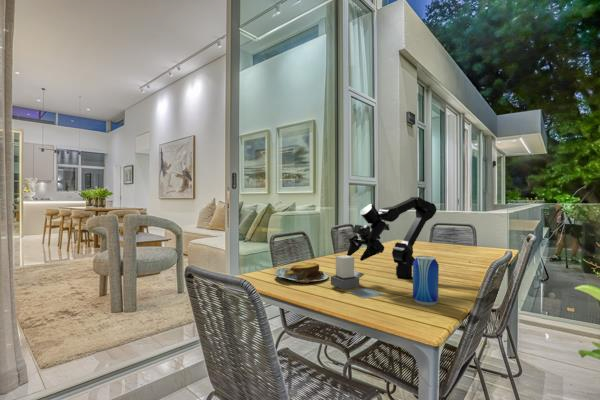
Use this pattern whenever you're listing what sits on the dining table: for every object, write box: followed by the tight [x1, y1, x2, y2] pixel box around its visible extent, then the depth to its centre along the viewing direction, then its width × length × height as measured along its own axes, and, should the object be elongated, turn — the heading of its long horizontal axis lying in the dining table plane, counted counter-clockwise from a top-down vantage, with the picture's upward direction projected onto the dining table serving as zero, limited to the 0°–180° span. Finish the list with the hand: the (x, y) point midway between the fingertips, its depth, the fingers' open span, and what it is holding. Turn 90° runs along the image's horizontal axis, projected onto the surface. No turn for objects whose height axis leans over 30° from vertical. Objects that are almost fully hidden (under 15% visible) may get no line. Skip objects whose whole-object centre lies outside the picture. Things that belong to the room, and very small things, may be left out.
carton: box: [325, 269, 365, 290], centre depth 131 cm, size 14×8×5 cm, turn 117°
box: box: [335, 254, 355, 280], centre depth 131 cm, size 5×5×12 cm
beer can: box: [412, 255, 440, 306], centre depth 112 cm, size 8×8×16 cm
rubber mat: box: [347, 287, 385, 299], centre depth 121 cm, size 10×10×1 cm
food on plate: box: [273, 262, 330, 284], centre depth 144 cm, size 25×25×7 cm
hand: (353, 258), depth 132 cm, fingers open, 9 cm apart
